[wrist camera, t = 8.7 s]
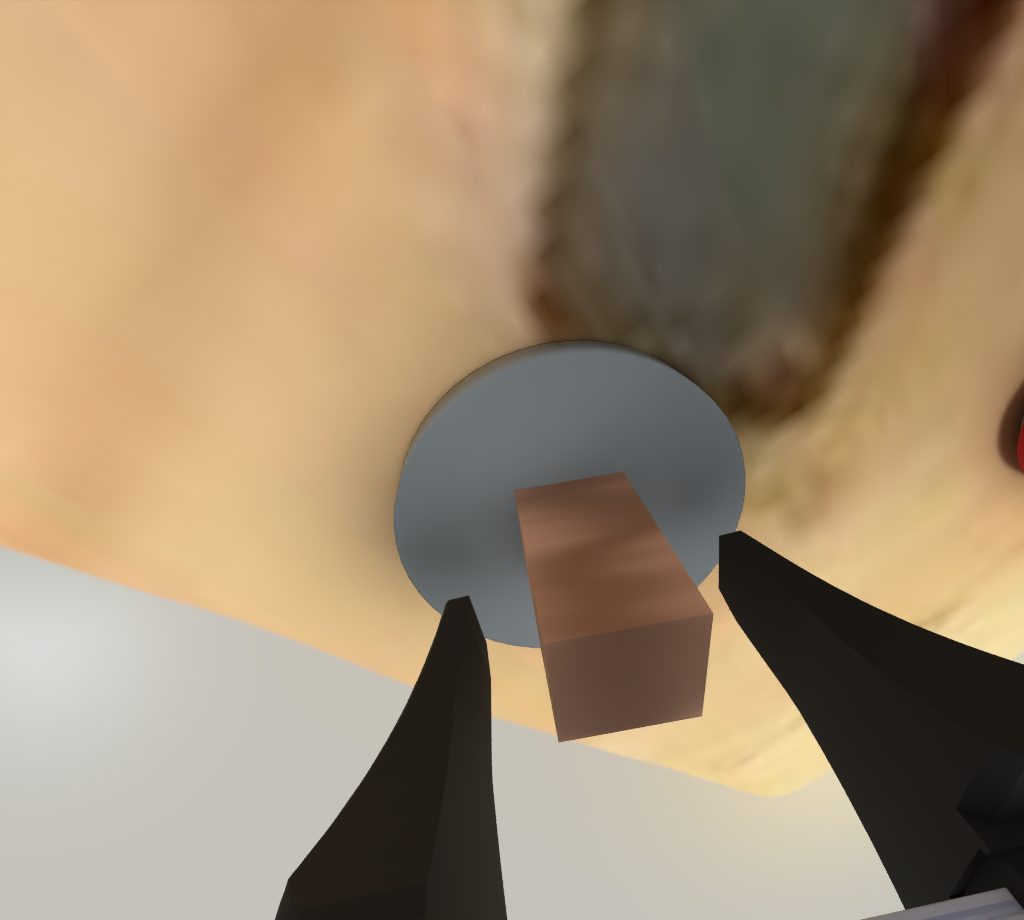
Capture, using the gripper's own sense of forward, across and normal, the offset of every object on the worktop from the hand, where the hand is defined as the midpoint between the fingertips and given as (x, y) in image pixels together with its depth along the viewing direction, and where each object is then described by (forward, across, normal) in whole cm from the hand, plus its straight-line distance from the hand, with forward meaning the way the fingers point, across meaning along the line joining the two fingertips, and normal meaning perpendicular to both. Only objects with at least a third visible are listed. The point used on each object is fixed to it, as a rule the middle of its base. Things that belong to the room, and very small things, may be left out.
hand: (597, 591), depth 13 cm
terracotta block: (+3, 0, 0) cm, 3 cm away
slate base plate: (+5, 0, 0) cm, 5 cm away
